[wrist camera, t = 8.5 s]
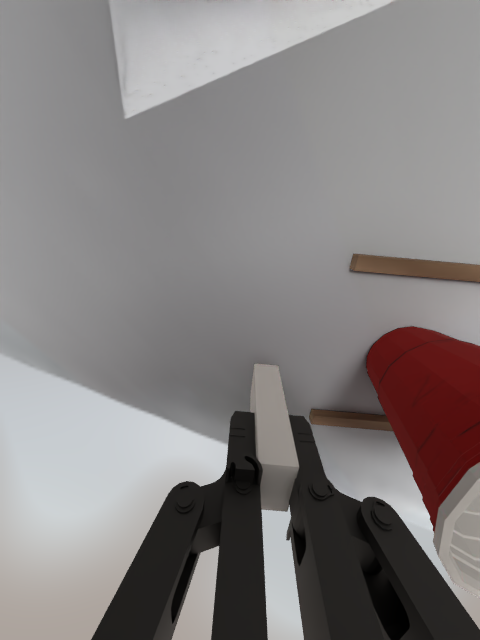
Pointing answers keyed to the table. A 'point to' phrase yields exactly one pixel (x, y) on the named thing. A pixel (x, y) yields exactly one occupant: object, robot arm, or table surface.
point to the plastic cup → (437, 434)
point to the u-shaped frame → (399, 268)
